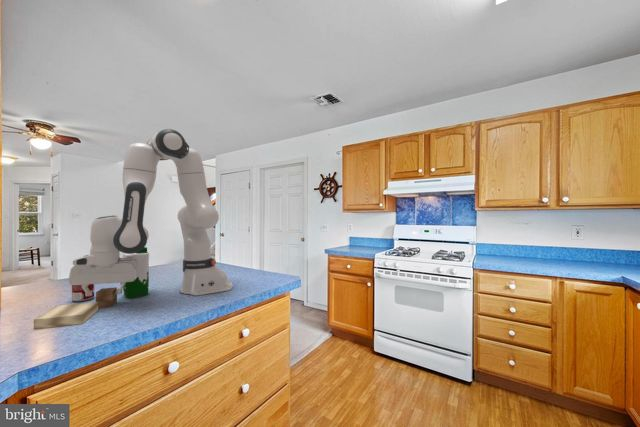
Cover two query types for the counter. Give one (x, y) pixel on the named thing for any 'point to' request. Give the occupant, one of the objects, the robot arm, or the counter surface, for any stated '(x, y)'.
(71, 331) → the counter surface
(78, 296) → the soda can
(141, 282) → the milk carton
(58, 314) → the maple plinth
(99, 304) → the walnut block
